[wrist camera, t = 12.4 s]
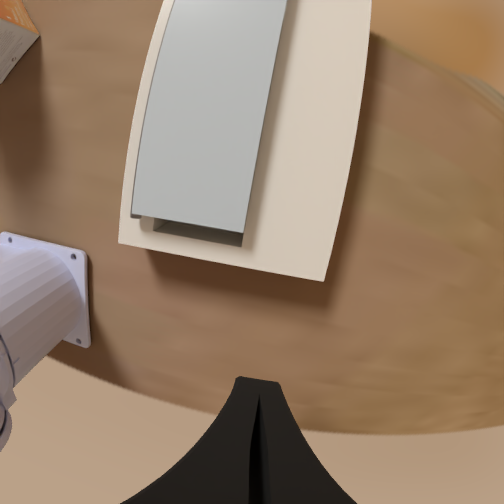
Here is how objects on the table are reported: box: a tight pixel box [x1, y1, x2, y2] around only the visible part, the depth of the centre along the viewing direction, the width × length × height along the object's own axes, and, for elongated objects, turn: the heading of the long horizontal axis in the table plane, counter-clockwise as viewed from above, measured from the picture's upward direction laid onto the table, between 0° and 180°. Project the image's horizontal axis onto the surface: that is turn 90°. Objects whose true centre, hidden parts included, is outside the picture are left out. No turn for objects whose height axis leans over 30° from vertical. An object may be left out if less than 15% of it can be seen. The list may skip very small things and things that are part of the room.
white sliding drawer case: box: [118, 0, 372, 282], centre depth 15 cm, size 20×11×3 cm, turn 169°
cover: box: [130, 0, 287, 233], centre depth 12 cm, size 17×6×1 cm, turn 169°
